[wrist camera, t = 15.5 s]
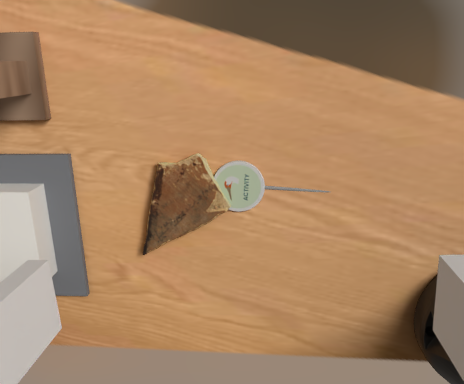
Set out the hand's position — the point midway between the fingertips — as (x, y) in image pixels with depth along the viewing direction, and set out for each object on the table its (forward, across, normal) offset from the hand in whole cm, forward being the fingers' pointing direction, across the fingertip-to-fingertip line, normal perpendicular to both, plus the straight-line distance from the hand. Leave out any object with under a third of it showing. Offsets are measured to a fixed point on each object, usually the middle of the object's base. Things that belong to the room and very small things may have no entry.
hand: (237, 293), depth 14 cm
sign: (+29, -3, +5) cm, 29 cm away
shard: (+29, +7, +6) cm, 30 cm away
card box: (+28, +26, +8) cm, 39 cm away
